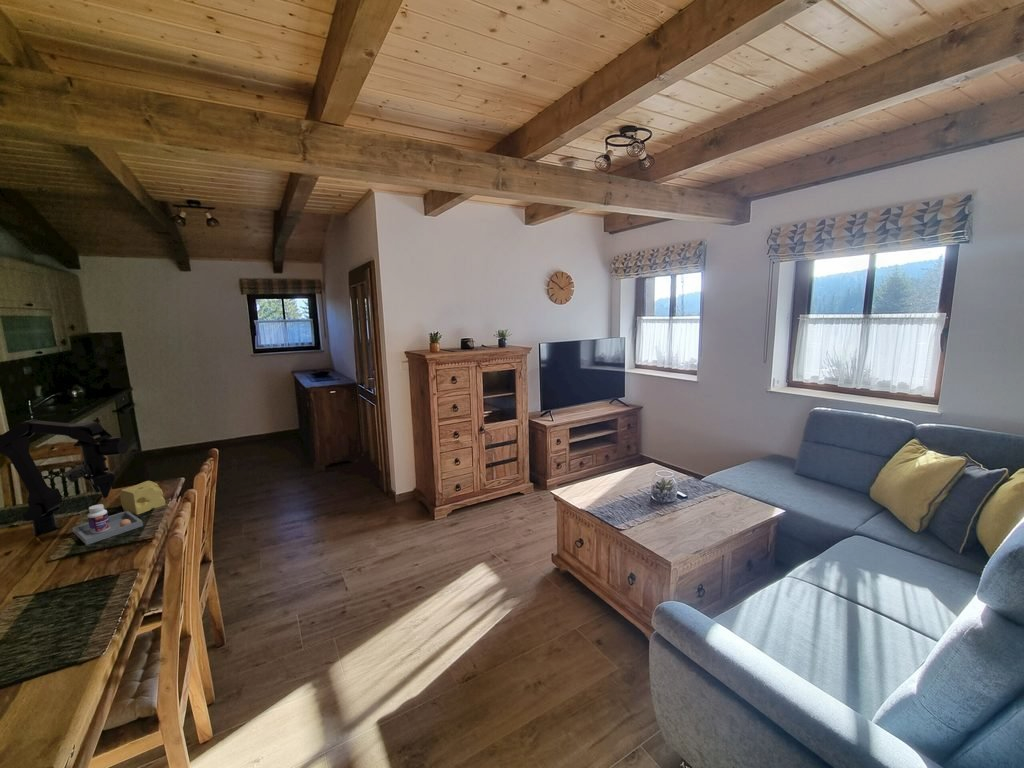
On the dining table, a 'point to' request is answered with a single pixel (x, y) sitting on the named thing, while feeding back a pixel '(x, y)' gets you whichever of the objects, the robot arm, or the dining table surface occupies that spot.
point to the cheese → (142, 497)
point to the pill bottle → (98, 519)
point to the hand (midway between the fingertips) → (101, 495)
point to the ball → (125, 522)
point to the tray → (115, 529)
